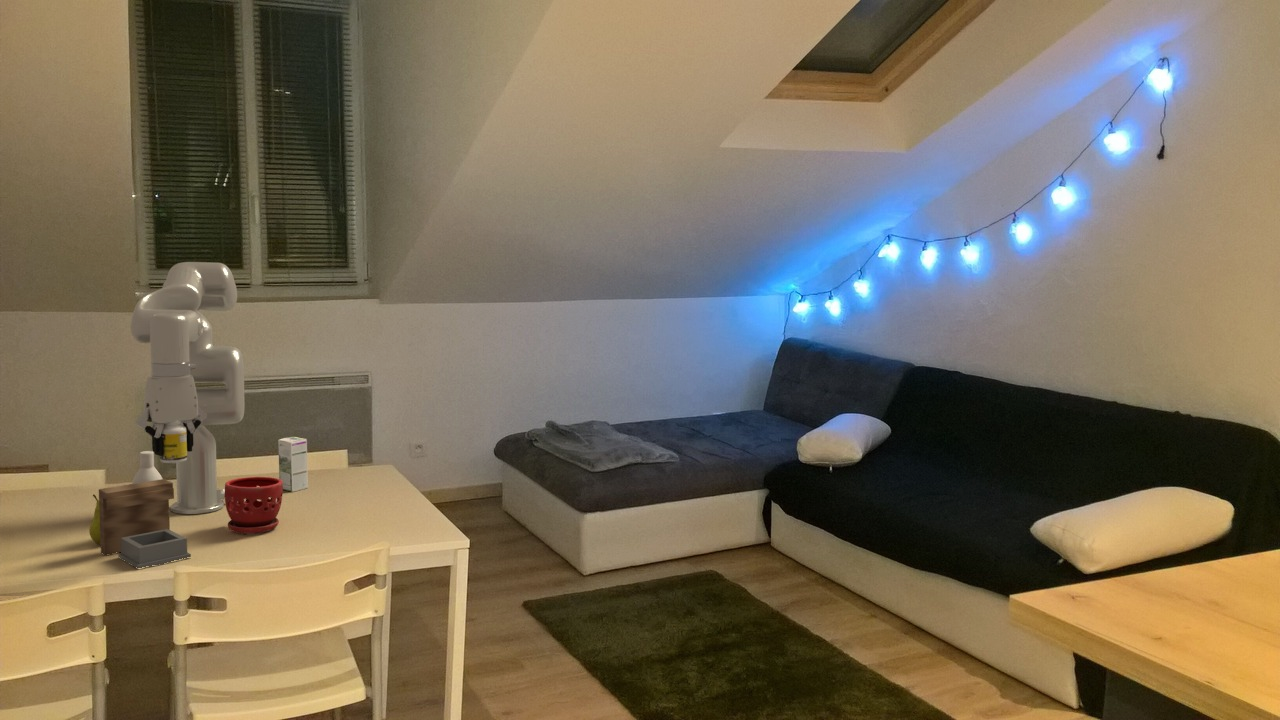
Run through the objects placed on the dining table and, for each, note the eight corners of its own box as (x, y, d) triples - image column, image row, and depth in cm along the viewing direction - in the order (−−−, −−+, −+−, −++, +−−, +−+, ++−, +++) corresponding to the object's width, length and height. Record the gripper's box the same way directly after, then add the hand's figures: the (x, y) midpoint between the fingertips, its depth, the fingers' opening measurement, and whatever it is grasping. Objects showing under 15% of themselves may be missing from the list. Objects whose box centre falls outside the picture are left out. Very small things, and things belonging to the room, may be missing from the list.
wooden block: (165, 540, 227) (163, 478, 226) (175, 545, 224) (173, 483, 222) (101, 553, 217) (98, 489, 215) (110, 558, 213) (107, 493, 212)
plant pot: (277, 536, 233) (276, 487, 231) (219, 537, 230) (218, 488, 229) (288, 520, 245) (287, 474, 244) (233, 521, 243) (231, 475, 242)
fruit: (123, 540, 227) (121, 489, 225) (110, 547, 221) (108, 496, 219) (98, 539, 226) (95, 489, 225) (84, 547, 221) (82, 495, 219)
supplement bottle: (154, 462, 210) (152, 418, 209) (170, 457, 216) (169, 413, 215) (177, 464, 210) (175, 419, 208) (192, 459, 215) (191, 415, 214)
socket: (169, 547, 222) (169, 527, 222) (190, 558, 215) (190, 538, 215) (118, 557, 214) (117, 537, 214) (138, 569, 207) (137, 549, 206)
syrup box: (308, 488, 277) (308, 438, 276) (291, 492, 272) (290, 441, 271) (295, 485, 280) (294, 435, 279) (278, 489, 275) (277, 439, 274)
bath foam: (129, 539, 227) (126, 455, 224) (137, 531, 234) (134, 449, 231) (161, 538, 228) (158, 455, 226) (168, 530, 235) (166, 448, 233)
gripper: (201, 365, 219) (203, 444, 221) (121, 372, 206) (124, 455, 208) (217, 369, 214) (219, 449, 217) (136, 375, 201) (140, 461, 204)
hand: (173, 451), depth 212 cm, fingers closed on supplement bottle, 5 cm apart
